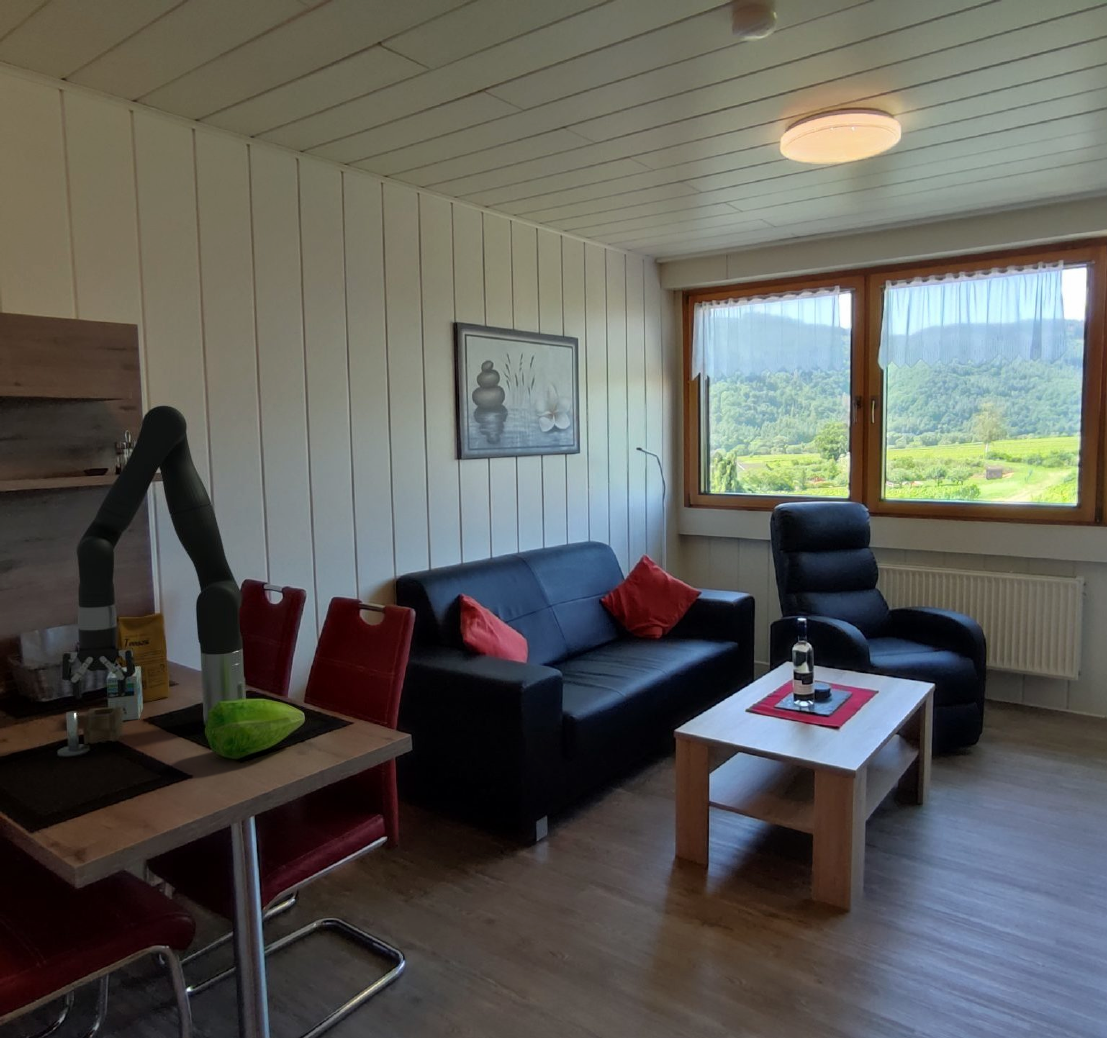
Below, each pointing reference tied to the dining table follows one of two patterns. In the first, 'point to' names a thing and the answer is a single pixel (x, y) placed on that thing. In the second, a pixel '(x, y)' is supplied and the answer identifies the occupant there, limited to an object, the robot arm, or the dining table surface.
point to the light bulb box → (126, 694)
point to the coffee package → (146, 652)
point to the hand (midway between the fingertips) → (100, 696)
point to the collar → (102, 724)
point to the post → (73, 738)
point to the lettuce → (249, 725)
